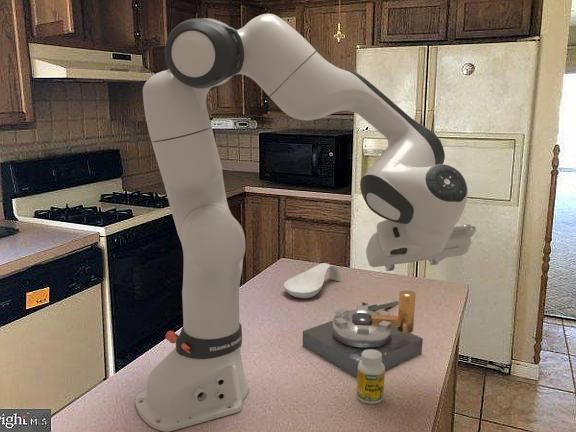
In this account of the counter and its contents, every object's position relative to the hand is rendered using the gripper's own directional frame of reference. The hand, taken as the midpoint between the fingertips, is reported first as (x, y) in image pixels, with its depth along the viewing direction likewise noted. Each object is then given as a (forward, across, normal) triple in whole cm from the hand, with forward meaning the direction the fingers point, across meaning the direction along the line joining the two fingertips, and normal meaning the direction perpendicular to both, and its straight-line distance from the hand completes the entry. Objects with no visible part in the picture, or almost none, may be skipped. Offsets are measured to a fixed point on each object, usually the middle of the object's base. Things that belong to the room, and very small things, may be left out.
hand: (410, 264), depth 108 cm
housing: (+24, +10, +9) cm, 28 cm away
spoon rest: (+53, +15, -20) cm, 58 cm away
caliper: (+40, 0, -5) cm, 40 cm away
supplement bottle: (+11, +13, +23) cm, 28 cm away
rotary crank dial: (+21, +7, +7) cm, 23 cm away
